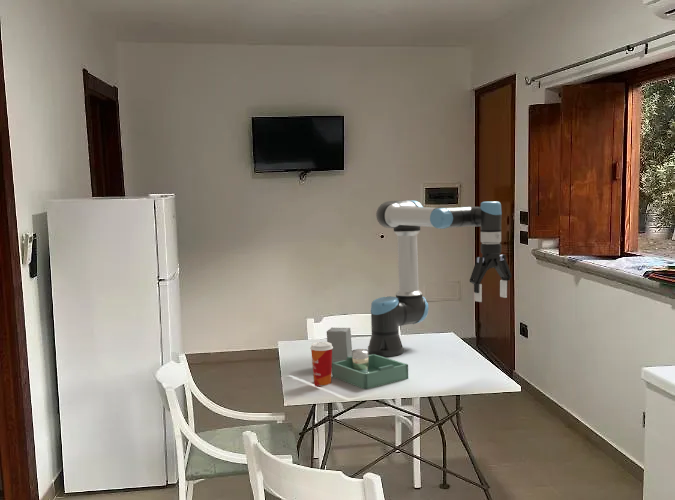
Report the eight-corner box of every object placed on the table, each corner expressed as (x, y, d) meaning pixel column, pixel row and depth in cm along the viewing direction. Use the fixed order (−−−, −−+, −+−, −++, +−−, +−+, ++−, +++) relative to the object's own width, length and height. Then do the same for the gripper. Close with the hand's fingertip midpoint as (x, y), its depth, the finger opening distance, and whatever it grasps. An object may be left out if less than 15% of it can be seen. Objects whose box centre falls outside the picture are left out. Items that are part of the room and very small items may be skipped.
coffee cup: (310, 382, 240) (309, 341, 239) (333, 380, 241) (332, 340, 240) (311, 388, 232) (310, 347, 231) (335, 387, 233) (333, 346, 231)
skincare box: (353, 366, 260) (352, 327, 259) (347, 371, 253) (346, 331, 252) (333, 365, 263) (332, 326, 261) (327, 369, 256) (326, 329, 255)
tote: (332, 378, 244) (331, 360, 243) (373, 369, 255) (373, 351, 255) (365, 391, 227) (365, 371, 227) (408, 380, 239) (408, 361, 238)
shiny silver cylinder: (349, 374, 246) (348, 350, 246) (362, 371, 250) (361, 348, 249) (359, 377, 242) (358, 353, 241) (372, 374, 245) (371, 350, 244)
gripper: (474, 245, 234) (474, 304, 236) (521, 241, 248) (521, 296, 250) (459, 244, 240) (459, 301, 242) (506, 240, 254) (505, 294, 256)
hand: (491, 299), depth 246 cm, fingers open, 13 cm apart
